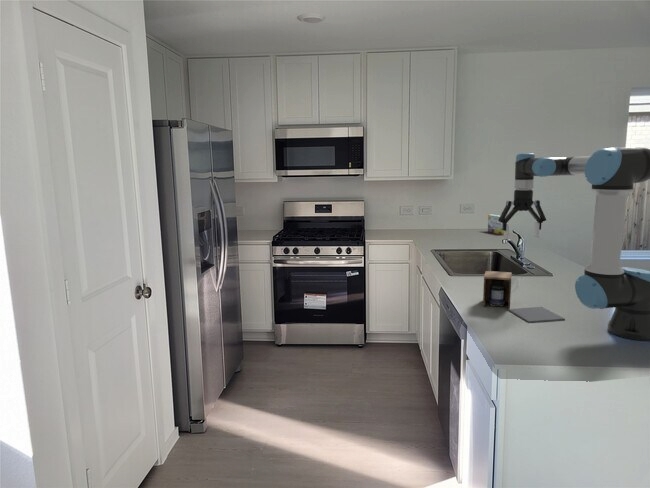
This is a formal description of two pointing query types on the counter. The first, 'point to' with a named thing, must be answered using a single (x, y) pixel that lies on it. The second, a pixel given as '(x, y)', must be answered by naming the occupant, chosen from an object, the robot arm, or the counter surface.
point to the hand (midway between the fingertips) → (521, 237)
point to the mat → (536, 314)
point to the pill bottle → (497, 292)
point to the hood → (501, 276)
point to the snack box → (495, 224)
